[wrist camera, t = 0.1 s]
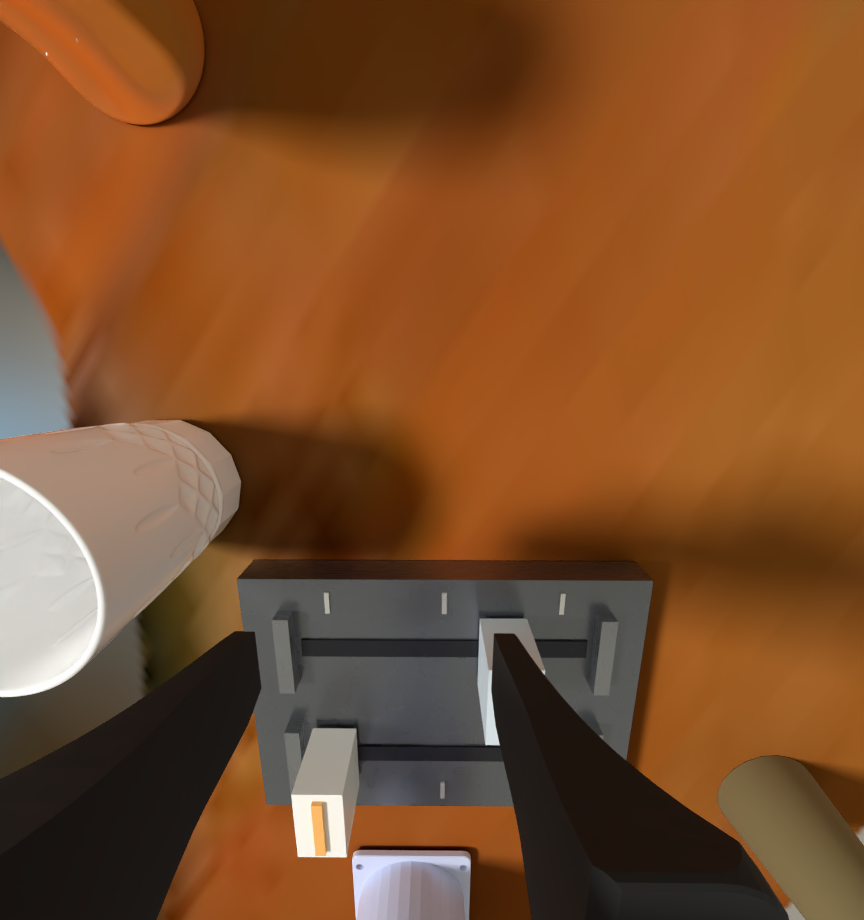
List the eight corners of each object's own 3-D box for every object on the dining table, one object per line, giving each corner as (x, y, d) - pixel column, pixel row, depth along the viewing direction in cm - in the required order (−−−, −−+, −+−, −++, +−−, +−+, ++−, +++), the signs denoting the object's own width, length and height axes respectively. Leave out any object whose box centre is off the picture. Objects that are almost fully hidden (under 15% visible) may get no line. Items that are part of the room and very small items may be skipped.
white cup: (197, 379, 20) (-25, 400, 10) (281, 513, 22) (158, 638, 12) (71, 448, 21) (-242, 528, 11) (162, 571, 23) (-43, 732, 13)
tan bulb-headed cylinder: (809, 746, 25) (1083, 1029, 15) (815, 816, 27) (1068, 1120, 16) (712, 767, 26) (908, 1056, 15) (722, 834, 27) (909, 1143, 16)
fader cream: (359, 784, 23) (345, 862, 20) (317, 783, 23) (296, 861, 20) (356, 728, 22) (341, 799, 19) (312, 728, 22) (289, 799, 19)
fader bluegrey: (522, 684, 22) (540, 749, 18) (477, 683, 22) (486, 749, 18) (526, 618, 21) (546, 674, 17) (479, 618, 21) (489, 673, 17)
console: (605, 773, 26) (625, 821, 23) (278, 771, 26) (260, 819, 23) (634, 561, 22) (662, 589, 20) (253, 559, 22) (229, 587, 20)
